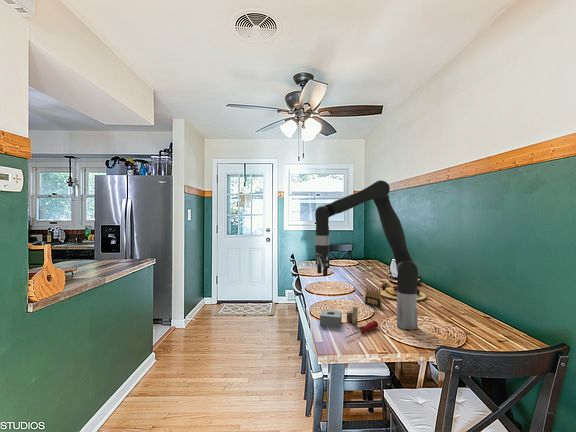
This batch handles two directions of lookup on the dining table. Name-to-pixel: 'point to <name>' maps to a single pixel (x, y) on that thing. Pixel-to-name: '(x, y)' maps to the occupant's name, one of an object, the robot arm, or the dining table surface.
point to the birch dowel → (355, 315)
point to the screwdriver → (366, 328)
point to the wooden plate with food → (392, 293)
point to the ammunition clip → (373, 297)
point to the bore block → (330, 318)
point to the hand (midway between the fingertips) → (322, 274)
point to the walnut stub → (349, 316)
